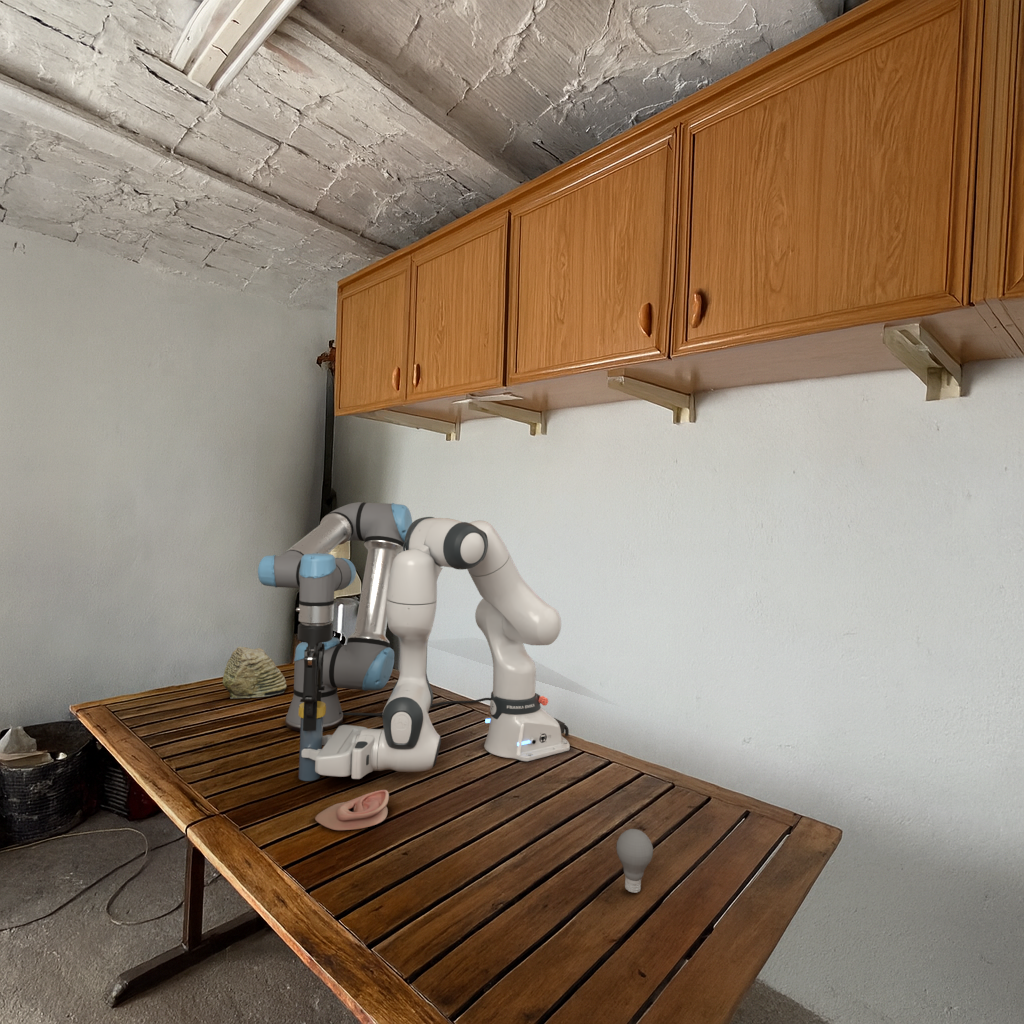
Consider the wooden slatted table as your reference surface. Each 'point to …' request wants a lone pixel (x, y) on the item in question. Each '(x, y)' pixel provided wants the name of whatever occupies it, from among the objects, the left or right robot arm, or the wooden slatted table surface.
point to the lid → (320, 709)
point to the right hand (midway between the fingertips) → (306, 746)
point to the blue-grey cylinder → (315, 742)
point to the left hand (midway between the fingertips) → (311, 724)
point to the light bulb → (634, 857)
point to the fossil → (252, 674)
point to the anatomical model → (356, 812)
